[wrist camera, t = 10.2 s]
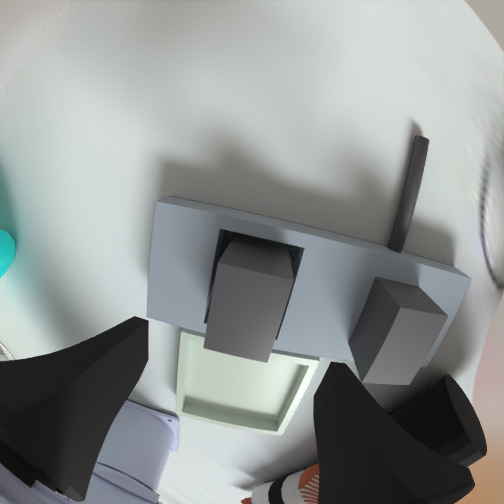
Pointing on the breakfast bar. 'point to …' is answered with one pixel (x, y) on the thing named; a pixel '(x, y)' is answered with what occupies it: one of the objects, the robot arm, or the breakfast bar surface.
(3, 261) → the teal spool
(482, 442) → the black white cylindrical piece
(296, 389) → the tray
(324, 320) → the power strip
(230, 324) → the plug
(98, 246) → the breakfast bar surface
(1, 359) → the teacup and saucer
